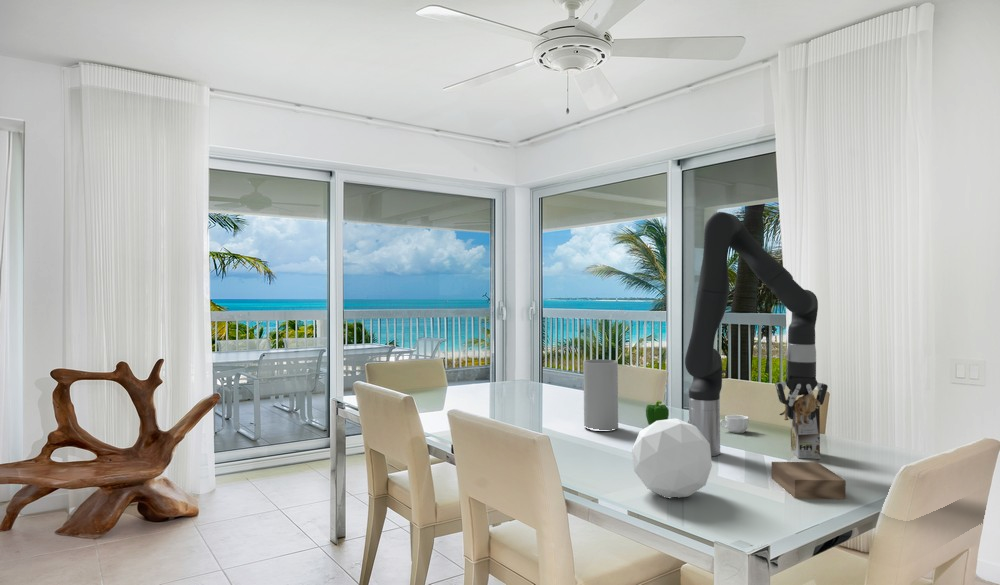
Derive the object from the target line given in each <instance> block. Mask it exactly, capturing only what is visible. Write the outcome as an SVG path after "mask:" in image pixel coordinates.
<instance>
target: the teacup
mask: <svg viewBox="0 0 1000 585" xmlns="http://www.w3.org/2000/svg"><path fill="white" fill-rule="evenodd" d="M722 422H724V423H725V425H722ZM720 427H722V428H726V429H727V430H728V431H729V432H730V433H732V434H733V433H734V434H743V433H746V431H747V430H748V427H749V416H747V415H746V416H745V415H740V414H728V415H725V417H724V419H720Z"/></svg>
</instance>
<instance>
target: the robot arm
mask: <svg viewBox="0 0 1000 585" xmlns="http://www.w3.org/2000/svg"><path fill="white" fill-rule="evenodd" d="M703 234H704V235H703V254H702V262H701V266H700V267H701V268H700V272H699V280H698V285H697V291H696V298H695V306H694V313H693V314H694V315H693V321H692V327H691V328H692V330H691V334H690V338H689V343H688V346H687V349H686V354H685V358H684V365H685V369H686V371H687V373H688V374H689V375H691V377H692V383H691V385H690V387H689V389H688V420H687V423H689V424H691V425H694V426H696V427H697V428H698V430H699V431H700V432H701V433H702V435H703V436H704V437H705V439H706V440H707V441H708V442H709V444H710V451H711V457H716V456H719V454H720V455H721V425H720V421H721V412H720V411H721V407H720V405H721V402H720V401H721V399H720V398H721V397H720V396H721V392H722V391H721V390H722V388H723V359H722V355H721V354H720V352H719V351H718V350H717V349H716V348H715V340H716V334H717V331H718V329H719V327H720V325H721V322H722V320H723V318H724V316H725V313H726V310H727V307H728V300H729V295H730V294H729V293H730V276H729V269H728V254H729V249H730V248H731V249H732V250H733V251H735V252H736V253H737V254H738V255H739V256H740V257H741V258H742V259H743V261H745V262H746V264H747V266H748V267H749V269H751V271H752V272H753V273H754V275H755V276H756V277H757V278H758V279H759V280H760V281H761V282H762V283H763V284H764V285H765V286H766V288H768V289H769V290H770V291H772V292H773V293H774V294H775V296H776V297H777V299H778V300H779V301H780V303H781V304H782V305H783V306H784V307H785V308H786V309H787V310H788V311H790V313H791V322H790V324H789V326H788V331H787V351H786V378H785V381H781V382H774V386H775V388H776V392H777V397H778V401H779V403H781V404H784V405H785V404H786V415H787V417H788V419H789V420H791V419H793V414H794V407H793V403H794V401H795V399H796V400H797V399H798V398H797V396H803V395H807V394H813V395H814V396H815V394H814V392H813V391H814V390H815V389H817V395H816V397H815V399H817V401H819V402H820V406H821V405H822V406H823V404H824V401H825V397H826V395H827V391H828V388H829V386H828V384H825V383H823V382H818V380H817V378H816V377H817V349H816V323H817V319H818V318H817V317H818V311H819V303H818V302H819V301H818V297H817V296H816V294H815V293H814V292H813V291H812V290H809V289H804V288H803V287H802V286H801V285H799V284H798V283H797V281H795V280H794V278H793V275H792V274H791V273H790V272H789V270H787V269H786V267H784V266H783V265H782V264H781V263H780V262H779V261H778V260H777V259H775V258H774V256H772V255H771V254H770V253H769V252H768V251H766V249H764V248H763V247H762V246H761V245H760V244H759V242H757V241H756V239H755V238H754V237H753V236H752V234H750V232H749V231H748V229H747V228H746V227H745V226H744V224H743V223H742V221H741V220H740V219H739V217H737V216H736V215H735V214H732V213H729V212H724V211H717V212H714V213H712V214H711V215H710V216H709V217H708V218H707V219H706V221H705V224H704V231H703ZM786 387H787V388H788V389H789V390H788V394H787V397H786V394H785V389H786ZM786 399H787V400H786ZM815 416H816V408H815V410H814V411H813V412H811V414H810V415H808V419H810V420H813V418H815Z"/></svg>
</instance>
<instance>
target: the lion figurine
mask: <svg viewBox="0 0 1000 585" xmlns="http://www.w3.org/2000/svg"><path fill="white" fill-rule="evenodd" d="M813 394H814V393H813ZM813 394H807V395H801V396H798V398H796V399H795V401H794V403H793V407H794V412H795V413H796V415H797V425H802V424H801V420H800V418H801V415H804V419H803V423H804V424H806V425H808V424H809V423H808V422H807V417H808V415H810V414H811V412H813V411H814V410H815V408H817V409H818V407H819V406H820V407H821V405H820V402H819V401H817V399H816V397H815V394H814V395H813ZM786 400H787V398H786ZM783 415H784V419H783V420H784V421H789V420H790V419H789V417H788V416H787V415H786V404H784V411H783V412H781V413H779V416H783Z"/></svg>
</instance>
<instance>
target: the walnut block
mask: <svg viewBox="0 0 1000 585" xmlns="http://www.w3.org/2000/svg"><path fill="white" fill-rule="evenodd" d="M771 480H773V481H774V482H775V483H776V484H777V483H778V485H779V486H780V487H781V488H782V489H783V488H784V489H785V490H784V489H783V490H784V491H785V492H787V493H788V494H789V495H790V494H791V495H792V496H791V495H790V496H791V497H793V499H795V498H797V499H800V500H802V499H806V500H807V499H808V500H810V499H813V500H846V496H847V495H846V494H847V492H846V483H847V482H846V479H844V478H843V477H841V476H839V475H838V474H837V473H835V472H834V471H832V470H830V469H829V468H828V467H826V466H824V465H823V464H821V463H819V462H818V461H771Z"/></svg>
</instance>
